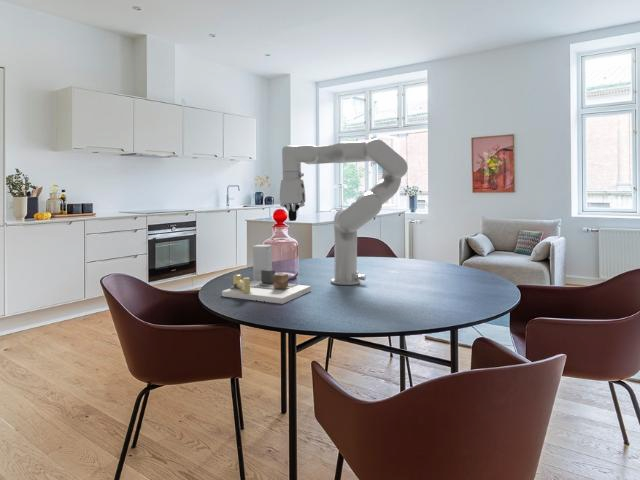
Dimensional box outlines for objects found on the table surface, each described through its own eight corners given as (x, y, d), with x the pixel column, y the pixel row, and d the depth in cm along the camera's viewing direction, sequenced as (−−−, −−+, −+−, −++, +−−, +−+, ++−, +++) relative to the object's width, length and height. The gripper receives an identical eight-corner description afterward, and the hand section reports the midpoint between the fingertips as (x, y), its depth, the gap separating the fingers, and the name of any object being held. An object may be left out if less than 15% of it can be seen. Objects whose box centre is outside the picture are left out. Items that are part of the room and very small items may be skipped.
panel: (310, 291, 183) (310, 285, 183) (282, 303, 163) (282, 297, 163) (252, 284, 195) (252, 279, 194) (220, 295, 175) (219, 289, 175)
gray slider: (275, 281, 188) (275, 269, 188) (269, 283, 185) (269, 270, 184) (266, 280, 190) (266, 268, 190) (261, 282, 187) (261, 270, 186)
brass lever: (251, 292, 170) (251, 278, 169) (243, 293, 168) (243, 278, 168) (240, 285, 182) (239, 272, 181) (232, 285, 180) (232, 272, 180)
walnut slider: (288, 286, 179) (287, 273, 178) (282, 288, 175) (282, 275, 174) (279, 285, 180) (278, 273, 180) (273, 287, 177) (273, 274, 176)
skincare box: (266, 283, 198) (266, 246, 197) (252, 282, 200) (251, 246, 198) (272, 279, 206) (272, 244, 205) (258, 278, 208) (257, 243, 206)
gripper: (312, 176, 193) (312, 220, 195) (280, 176, 199) (280, 219, 201) (304, 175, 186) (305, 221, 188) (271, 176, 192) (272, 221, 194)
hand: (292, 220), depth 194 cm, fingers closed
